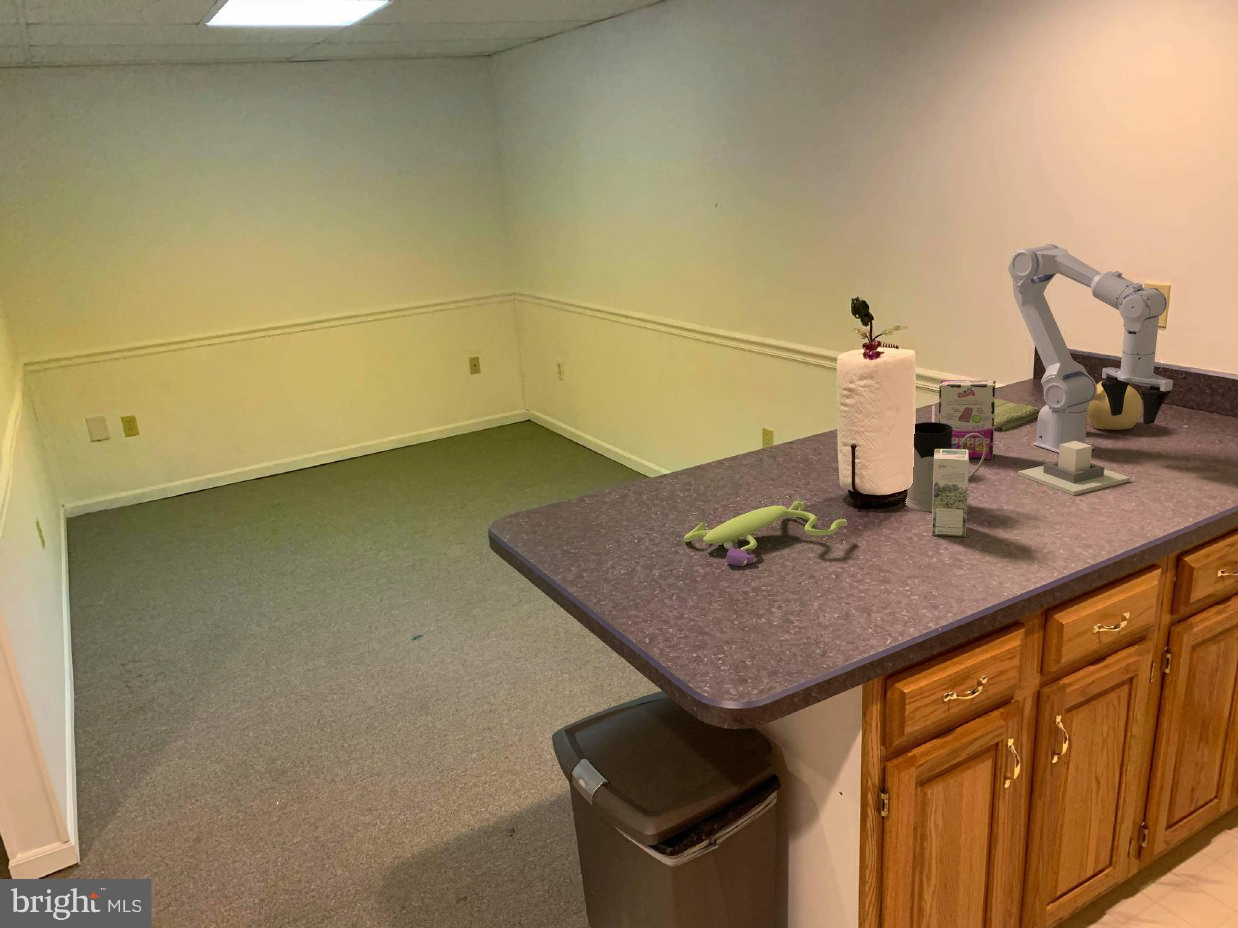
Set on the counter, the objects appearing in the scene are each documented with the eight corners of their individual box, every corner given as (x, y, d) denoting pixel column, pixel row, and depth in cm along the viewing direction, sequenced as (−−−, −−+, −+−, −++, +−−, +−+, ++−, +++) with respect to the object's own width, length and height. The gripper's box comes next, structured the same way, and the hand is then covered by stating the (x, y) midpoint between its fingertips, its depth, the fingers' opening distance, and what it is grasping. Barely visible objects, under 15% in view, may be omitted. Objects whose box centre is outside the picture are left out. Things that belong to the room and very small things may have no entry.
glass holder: (903, 495, 183) (904, 421, 178) (980, 495, 180) (983, 420, 175) (906, 511, 175) (908, 434, 170) (987, 511, 172) (991, 433, 167)
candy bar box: (993, 453, 202) (996, 379, 197) (992, 460, 198) (996, 385, 193) (938, 450, 207) (940, 378, 201) (937, 457, 202) (939, 384, 197)
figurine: (857, 551, 161) (857, 521, 159) (710, 577, 156) (708, 546, 154) (811, 514, 178) (810, 487, 176) (677, 537, 173) (675, 508, 171)
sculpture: (1093, 417, 221) (1096, 373, 217) (1147, 425, 212) (1152, 378, 209) (1072, 429, 214) (1075, 383, 210) (1128, 437, 205) (1132, 389, 202)
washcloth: (951, 424, 226) (952, 411, 225) (996, 409, 235) (997, 396, 234) (1000, 434, 215) (1000, 421, 214) (1045, 418, 225) (1045, 405, 224)
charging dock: (1018, 475, 188) (1019, 462, 188) (1072, 462, 193) (1073, 450, 192) (1073, 495, 176) (1074, 482, 175) (1129, 481, 180) (1130, 468, 180)
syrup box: (966, 525, 167) (969, 447, 162) (966, 538, 161) (969, 458, 157) (932, 523, 168) (934, 447, 164) (931, 536, 163) (933, 457, 159)
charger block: (1057, 473, 185) (1059, 444, 183) (1073, 469, 187) (1075, 440, 185) (1074, 478, 182) (1076, 449, 180) (1089, 474, 183) (1091, 445, 181)
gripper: (1092, 349, 188) (1087, 414, 192) (1155, 361, 175) (1148, 430, 179) (1119, 344, 190) (1113, 408, 194) (1183, 355, 177) (1176, 424, 181)
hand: (1132, 419), depth 187 cm, fingers open, 7 cm apart
